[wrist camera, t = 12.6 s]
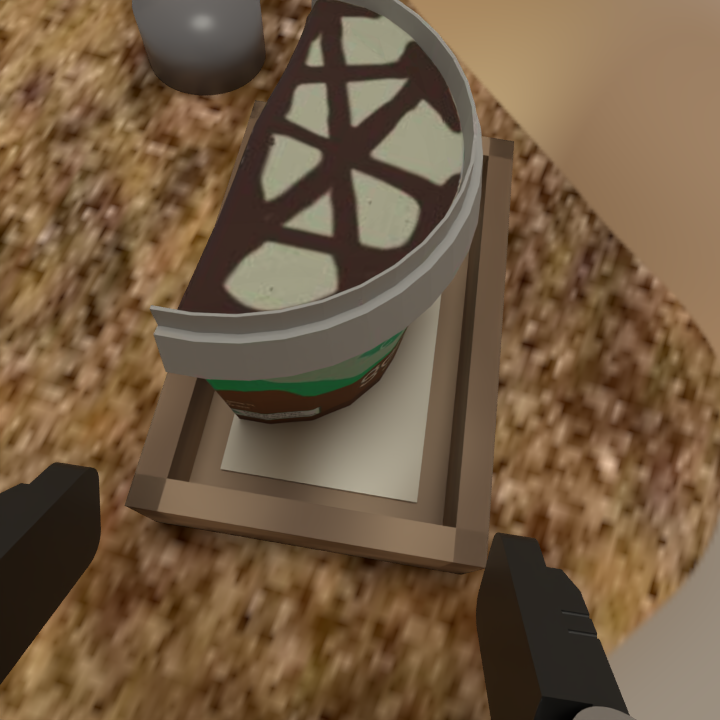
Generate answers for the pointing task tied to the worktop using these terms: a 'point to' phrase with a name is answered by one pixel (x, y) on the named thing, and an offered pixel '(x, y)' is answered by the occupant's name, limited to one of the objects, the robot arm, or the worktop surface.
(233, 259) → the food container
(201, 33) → the grey domed puck
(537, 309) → the worktop surface
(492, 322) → the tray
